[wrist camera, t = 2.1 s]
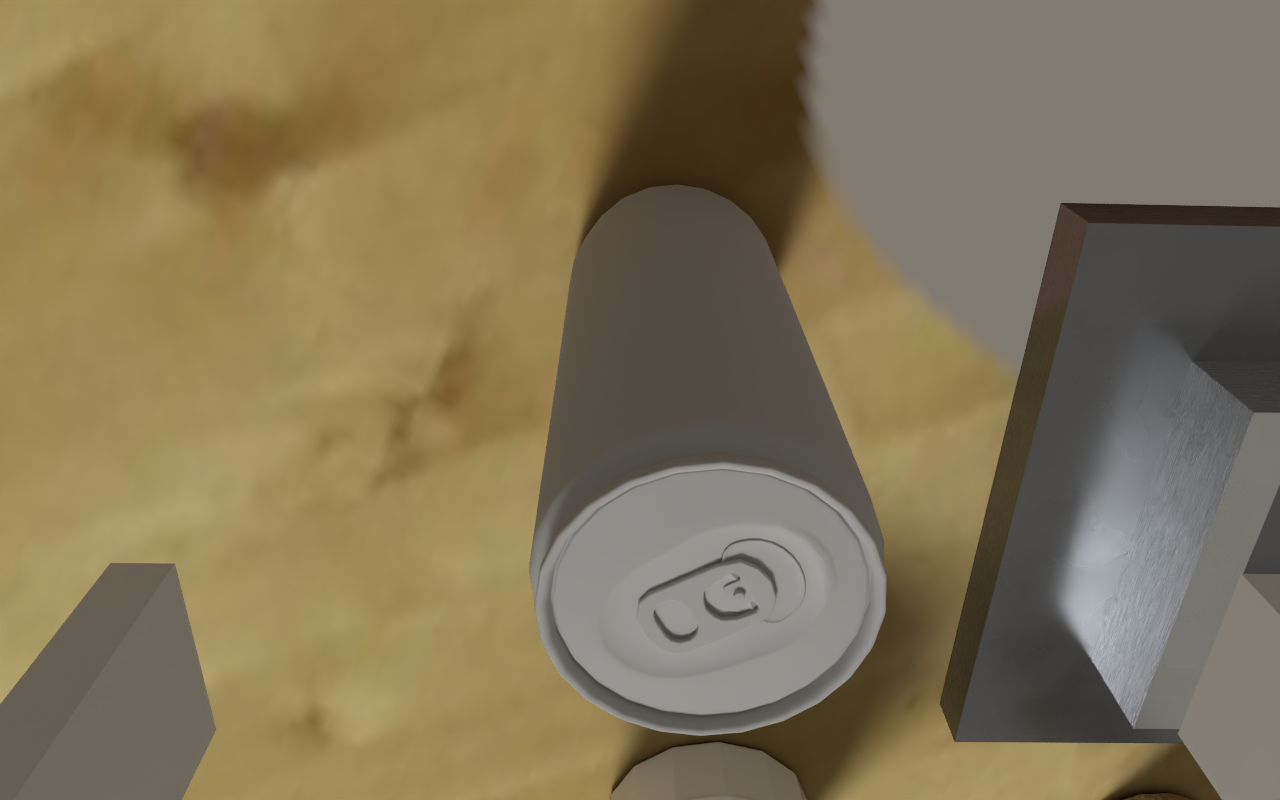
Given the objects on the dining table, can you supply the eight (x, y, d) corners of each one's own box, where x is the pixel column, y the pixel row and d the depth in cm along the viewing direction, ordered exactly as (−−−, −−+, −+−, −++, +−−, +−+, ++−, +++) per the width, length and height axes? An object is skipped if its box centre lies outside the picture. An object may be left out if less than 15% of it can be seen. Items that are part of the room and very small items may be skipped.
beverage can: (803, 313, 23) (951, 665, 13) (630, 396, 24) (635, 786, 14) (717, 139, 21) (808, 385, 11) (532, 237, 22) (449, 552, 12)
